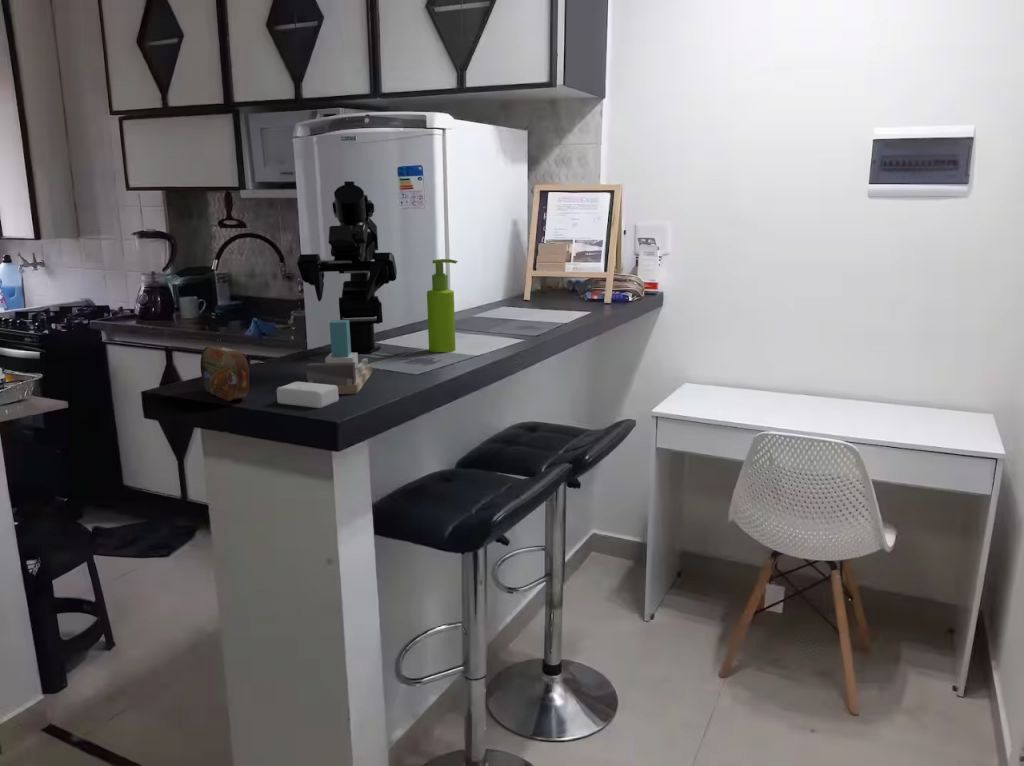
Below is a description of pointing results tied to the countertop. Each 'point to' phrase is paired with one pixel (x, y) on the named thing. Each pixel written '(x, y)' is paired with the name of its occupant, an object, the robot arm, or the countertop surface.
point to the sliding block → (341, 343)
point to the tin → (225, 373)
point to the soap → (307, 394)
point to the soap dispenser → (441, 311)
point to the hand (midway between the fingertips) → (342, 299)
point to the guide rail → (340, 375)
